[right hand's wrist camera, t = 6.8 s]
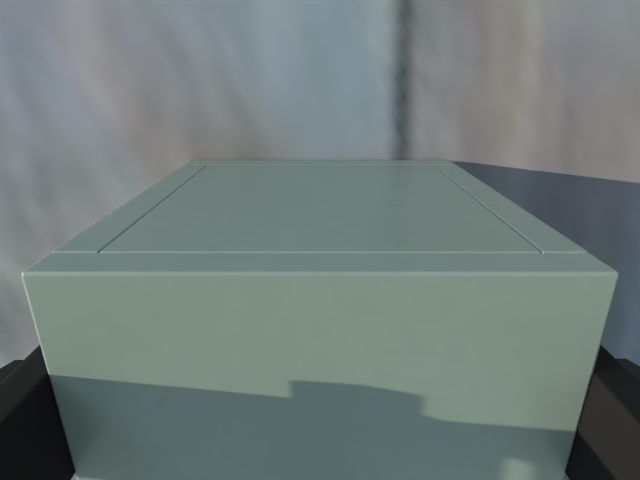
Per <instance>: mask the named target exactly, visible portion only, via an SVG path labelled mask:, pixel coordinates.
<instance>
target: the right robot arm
mask: <svg viewBox="0 0 640 480" xmlns="http://www.w3.org/2000/svg"><path fill="white" fill-rule="evenodd" d="M565 473H566V474H567V476H568V478H569V479H570V480H640V367H639V366H638V365H636V364H634V363H632V362H631V361H629V360H627V359H615V358H614V357H613V356H612V355H611V354H610V353H609V352H608V351H607V350H606V349H604V348H603V347H602V346H601V345H600V349H599V352H598V356H597V360H596V363H595V367H594V370H593V374H592V378H591V381H590V385H589V389H588V392H587V396H586V399H585V403H584V407H583V410H582V414H581V418H580V421H579V425H578V428H577V432H576V436H575V439H574V443H573V447H572V450H571V454H570V458H569V461H568V465H567V468H566V472H565ZM74 474H75V470H74V466H73V463H72V459H71V455H70V452H69V448H68V444H67V441H66V437H65V433H64V430H63V426H62V422H61V419H60V415H59V411H58V408H57V404H56V400H55V397H54V393H53V389H52V386H51V382H50V378H49V375H48V371H47V368H46V364H45V360H44V357H43V353H42V349H41V346H40V345H39V346H38V347H37V348H36V349H35V350H34V351H33V352H32V353H31V354H30V355H29V356H28V357H27V358H26V359H25V360H14V361H13V362H11V363H9V364H7V365H6V366H4V367H2V368H1V369H0V480H71V478H72V477H73V475H74Z"/></svg>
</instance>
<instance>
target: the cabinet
mask: <svg viewBox="0 0 640 480" xmlns="http://www.w3.org/2000/svg"><path fill="white" fill-rule="evenodd" d="M22 280H23V284H24V287H25V291H26V294H27V298H28V302H29V305H30V309H31V313H32V316H33V320H34V324H35V327H36V331H37V335H38V338H39V342H40V346H41V349H42V353H43V357H44V360H45V364H46V368H47V371H48V375H49V378H50V382H51V386H52V389H53V393H54V397H55V400H56V404H57V408H58V411H59V415H60V419H61V422H62V426H63V430H64V433H65V437H66V441H67V444H68V448H69V452H70V455H71V459H72V463H73V466H74V470H75V473H76V477H77V480H563V479H564V476H565V472H566V468H567V465H568V461H569V458H570V454H571V450H572V447H573V443H574V439H575V436H576V432H577V428H578V425H579V421H580V418H581V414H582V410H583V407H584V403H585V399H586V396H587V392H588V389H589V385H590V381H591V378H592V374H593V370H594V367H595V363H596V360H597V356H598V352H599V349H600V345H601V341H602V338H603V334H604V331H605V327H606V323H607V320H608V316H609V312H610V309H611V305H612V302H613V298H614V294H615V291H616V287H617V283H618V280H619V272H618V271H616V270H615V269H613V268H612V267H610V266H608V265H607V264H605V263H604V262H602V261H601V260H599V259H598V258H596V257H595V256H593V255H592V254H589V253H588V251H587V250H585V249H583V248H582V247H580V246H579V245H577V244H576V243H574V242H573V241H571V240H570V239H568V238H567V237H565V236H564V235H562V234H561V233H559V232H558V231H556V230H555V229H553V228H552V227H550V226H549V225H547V224H546V223H544V222H542V221H541V220H539V219H538V218H536V217H535V216H533V215H532V214H530V213H529V212H527V211H526V210H524V209H523V208H521V207H520V206H518V205H517V204H515V203H514V202H512V201H511V200H509V199H508V198H506V197H504V196H503V195H501V194H500V193H498V192H497V191H495V190H494V189H492V188H491V187H489V186H488V185H486V184H485V183H483V182H482V181H480V180H479V179H477V178H476V177H474V176H473V175H471V174H470V173H468V172H467V171H465V170H463V169H462V168H460V167H459V166H457V165H456V164H454V163H452V162H451V161H449V160H191V161H189V162H188V163H186V164H185V165H183V166H181V167H180V168H178V169H177V170H175V171H174V172H172V173H171V174H169V175H168V176H166V177H165V178H163V179H162V180H160V181H158V182H157V183H155V184H154V185H152V186H151V187H149V188H148V189H146V190H145V191H143V192H142V193H140V194H139V195H137V196H136V197H134V198H133V199H131V200H130V201H128V202H127V203H125V204H124V205H122V206H121V207H119V208H117V209H116V210H114V211H113V212H111V213H110V214H108V215H107V216H105V217H104V218H102V219H101V220H99V221H98V222H96V223H95V224H93V225H92V226H90V227H89V228H87V229H86V230H84V231H83V232H81V233H80V234H78V235H76V236H75V237H73V238H72V239H70V240H69V241H67V242H66V243H64V244H63V245H61V246H60V247H58V248H57V249H55V250H54V251H53V252H52V253H51V254H49V255H47V256H46V257H44V258H43V259H41V260H40V261H38V262H37V263H35V264H33V265H32V266H30V267H29V268H27V269H26V270H24V271H23V272H22Z"/></svg>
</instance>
